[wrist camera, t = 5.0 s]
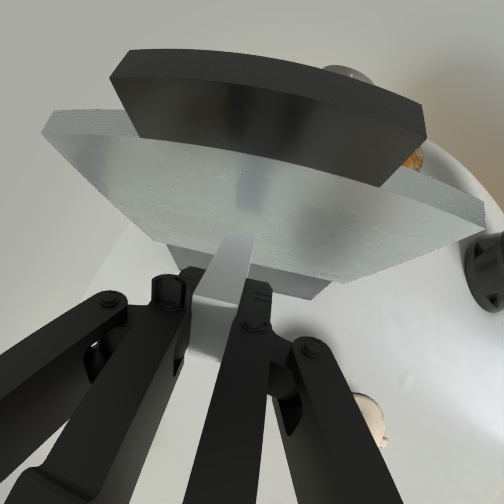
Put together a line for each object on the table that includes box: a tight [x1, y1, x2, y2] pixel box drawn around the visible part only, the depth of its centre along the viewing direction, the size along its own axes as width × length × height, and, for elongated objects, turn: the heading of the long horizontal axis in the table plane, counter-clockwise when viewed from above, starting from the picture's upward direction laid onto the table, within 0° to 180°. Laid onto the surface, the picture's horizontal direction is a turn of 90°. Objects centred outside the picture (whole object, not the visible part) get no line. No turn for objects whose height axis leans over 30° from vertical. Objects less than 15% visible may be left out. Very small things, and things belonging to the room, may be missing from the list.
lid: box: [41, 49, 486, 284], centre depth 16 cm, size 18×21×1 cm
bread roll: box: [402, 147, 423, 172], centre depth 47 cm, size 10×10×8 cm
